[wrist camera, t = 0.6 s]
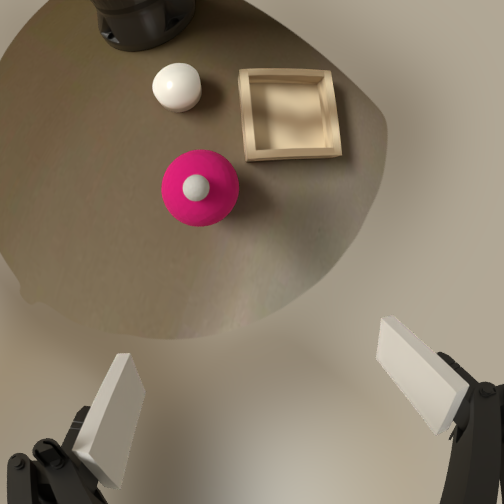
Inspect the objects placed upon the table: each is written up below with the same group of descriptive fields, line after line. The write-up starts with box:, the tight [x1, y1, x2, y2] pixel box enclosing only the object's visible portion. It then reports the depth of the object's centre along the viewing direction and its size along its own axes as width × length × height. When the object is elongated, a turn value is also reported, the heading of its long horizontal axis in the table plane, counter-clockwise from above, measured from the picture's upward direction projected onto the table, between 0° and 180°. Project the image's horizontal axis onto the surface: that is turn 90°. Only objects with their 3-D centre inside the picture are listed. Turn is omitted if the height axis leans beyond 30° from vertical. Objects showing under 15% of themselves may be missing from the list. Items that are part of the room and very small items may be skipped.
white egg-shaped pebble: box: [153, 63, 202, 113], centre depth 31 cm, size 6×6×4 cm
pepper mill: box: [162, 150, 239, 226], centre depth 27 cm, size 7×7×20 cm
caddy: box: [238, 68, 342, 162], centre depth 33 cm, size 12×12×4 cm
